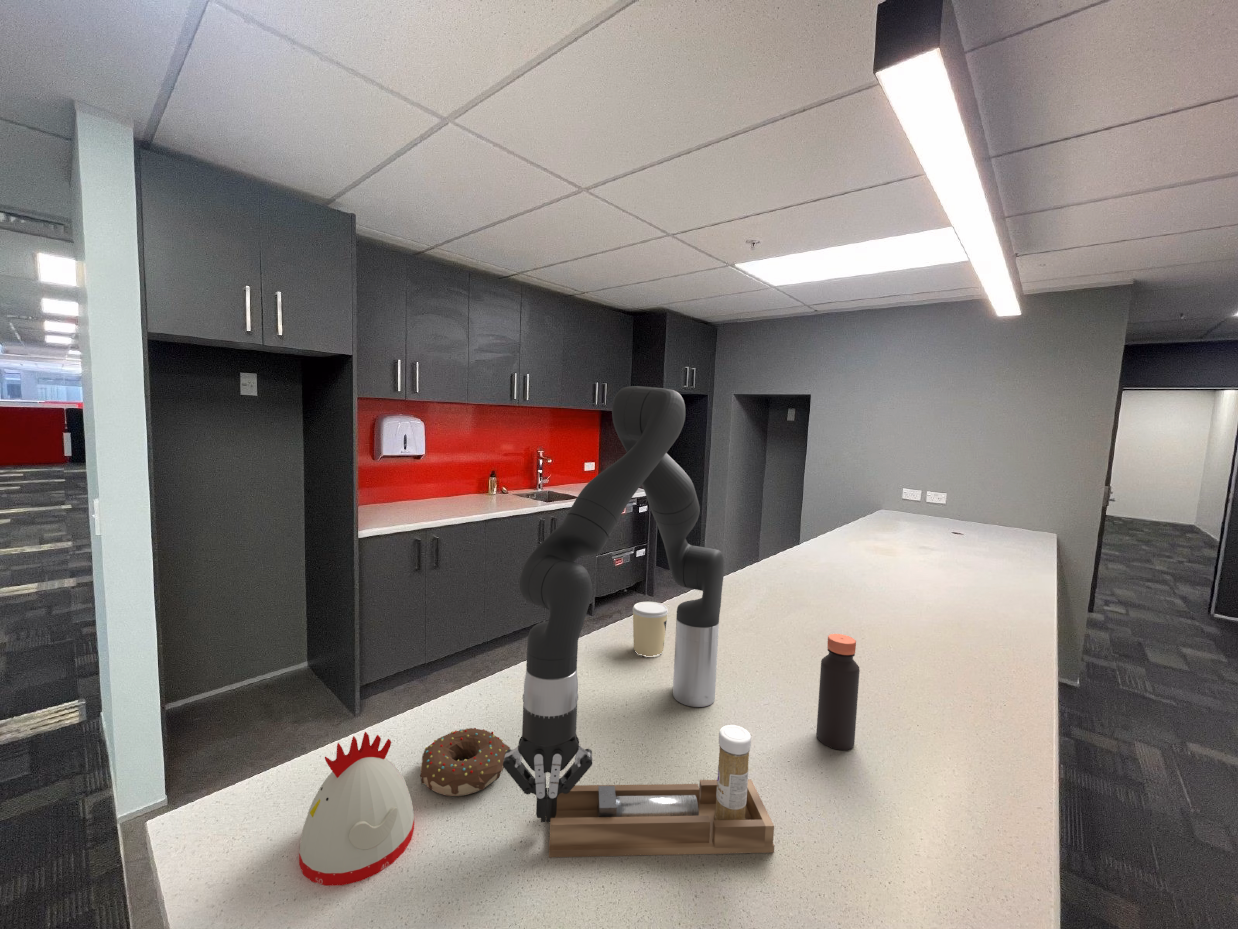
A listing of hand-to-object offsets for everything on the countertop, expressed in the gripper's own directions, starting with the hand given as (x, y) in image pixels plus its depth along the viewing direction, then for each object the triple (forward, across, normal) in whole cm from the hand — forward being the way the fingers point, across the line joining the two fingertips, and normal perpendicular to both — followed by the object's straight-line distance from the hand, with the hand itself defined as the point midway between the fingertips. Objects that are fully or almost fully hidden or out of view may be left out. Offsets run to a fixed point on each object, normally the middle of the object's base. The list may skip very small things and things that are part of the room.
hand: (546, 818), depth 71 cm
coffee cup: (+2, -23, -60) cm, 65 cm away
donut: (+3, +14, -13) cm, 19 cm away
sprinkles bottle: (+1, -27, 0) cm, 27 cm away
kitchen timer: (+3, +25, 0) cm, 25 cm away
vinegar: (+2, -54, -21) cm, 58 cm away
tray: (+2, -16, 0) cm, 16 cm away
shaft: (+1, -14, 0) cm, 15 cm away
